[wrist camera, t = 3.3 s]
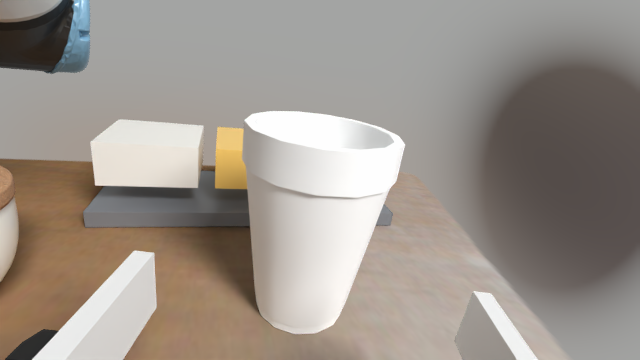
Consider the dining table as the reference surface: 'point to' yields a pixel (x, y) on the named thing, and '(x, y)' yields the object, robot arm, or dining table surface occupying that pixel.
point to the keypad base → (176, 206)
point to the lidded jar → (7, 221)
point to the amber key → (230, 159)
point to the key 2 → (148, 154)
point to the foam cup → (312, 210)
